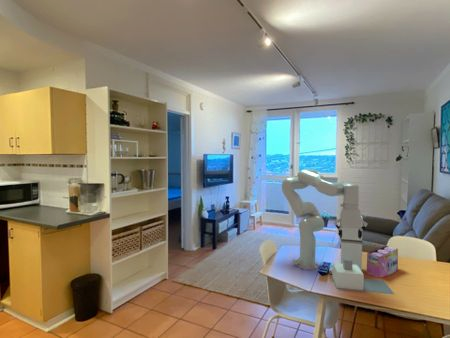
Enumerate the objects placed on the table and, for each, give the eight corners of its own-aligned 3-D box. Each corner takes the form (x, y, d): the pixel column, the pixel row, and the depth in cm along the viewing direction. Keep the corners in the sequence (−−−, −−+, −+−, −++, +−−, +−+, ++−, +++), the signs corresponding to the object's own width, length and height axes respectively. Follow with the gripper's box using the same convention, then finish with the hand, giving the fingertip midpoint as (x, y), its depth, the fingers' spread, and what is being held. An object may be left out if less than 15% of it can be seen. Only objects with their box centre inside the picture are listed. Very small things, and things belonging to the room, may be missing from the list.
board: (336, 290, 145) (336, 288, 145) (331, 277, 161) (331, 276, 161) (394, 296, 140) (395, 294, 140) (383, 282, 155) (383, 280, 155)
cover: (336, 287, 147) (337, 263, 146) (332, 277, 159) (332, 254, 159) (363, 290, 144) (363, 264, 143) (356, 279, 157) (357, 256, 156)
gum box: (386, 265, 178) (386, 245, 178) (399, 270, 172) (399, 248, 171) (366, 274, 165) (366, 252, 164) (379, 279, 158) (380, 256, 158)
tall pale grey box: (358, 268, 173) (359, 213, 172) (361, 275, 163) (362, 217, 162) (339, 266, 177) (340, 212, 175) (340, 273, 167) (341, 216, 165)
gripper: (335, 207, 148) (334, 238, 149) (370, 208, 145) (369, 240, 146) (332, 204, 156) (332, 234, 157) (365, 205, 152) (364, 236, 153)
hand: (350, 237), depth 151 cm, fingers open, 9 cm apart
